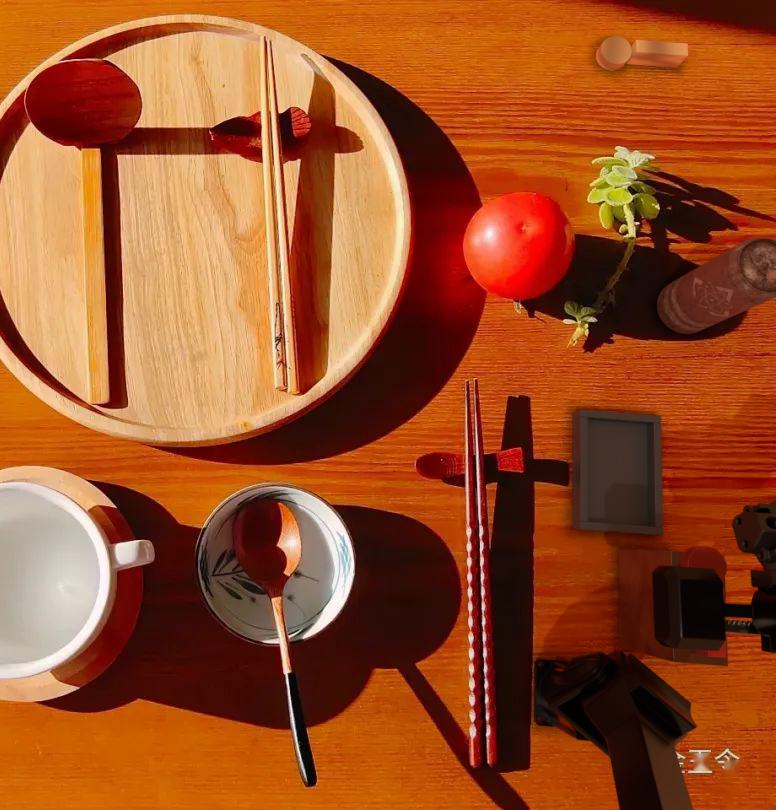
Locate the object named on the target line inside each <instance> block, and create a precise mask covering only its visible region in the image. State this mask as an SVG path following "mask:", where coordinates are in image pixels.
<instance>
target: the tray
mask: <svg viewBox="0 0 776 810" xmlns="http://www.w3.org/2000/svg"><path fill="white" fill-rule="evenodd" d="M662 443H663V442H662V416H661V415H658V414H656V415H655V414H644V413H630V412H618V411H607V410H606V411H605V410H594V409H578V410H575V411H573V412H572V450H571V451H572V467H571V468H572V469H571V471H572V472H571V473H572V477H571V478H572V481H571V482H572V486H571V487H572V488H571V490H572V491H571V492H572V493H571V494H572V495H571V496H572V499H571V500H572V503H571V504H572V505H571V507H572V513H571V514H572V516H571V518H572V519H571V521H572V523H571V524H572V525H571V527H572V530H578V531H592V532H593V531H594V532H605V533H617V534H630V535H631V534H632V535H642V536H664V506H663V505H664V504H663V501H664V500H663V499H664V498H663V496H664V495H663V494H664V493H663V453H662V452H663V450H662V447H663V446H662Z"/></svg>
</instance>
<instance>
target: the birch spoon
mask: <svg viewBox="0 0 776 810" xmlns="http://www.w3.org/2000/svg"><path fill="white" fill-rule="evenodd" d="M688 56H689V43H687V42H686V43H685V42H673V41H661V40H660V41H658V40H647V39H636V40H635V41H634V42H633V43H632V45H631V44H630V42H629V41H628V40H627V39H626V38H624V37H622V36H618V35H612V36H608V37H607V38H606V39H604V40H603V41H602V43H601V44H600V45H599V46H598V48H597V50H596V53H595V60H596V62H597V64H598V65H599V66H600V67H601V68H603V70H606V71H611V72H615V71H618V70H620V69H622V68H623V67H624V66H625V65H633V66H634V65H635V66H648V67H659V68H660V67H661V68H674V69H677V68H678V67H679V66H680V65H681V64H683V62H684V61H685V60H686V59H687V58H688Z"/></svg>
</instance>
